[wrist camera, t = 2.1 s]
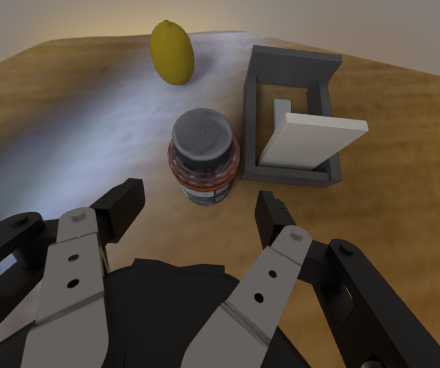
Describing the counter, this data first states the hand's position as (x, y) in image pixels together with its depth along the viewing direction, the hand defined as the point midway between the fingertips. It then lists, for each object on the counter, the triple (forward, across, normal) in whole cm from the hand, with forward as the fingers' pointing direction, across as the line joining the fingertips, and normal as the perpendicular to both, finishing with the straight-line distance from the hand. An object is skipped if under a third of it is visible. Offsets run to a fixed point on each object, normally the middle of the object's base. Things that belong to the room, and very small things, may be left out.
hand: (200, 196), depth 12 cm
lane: (+16, -10, -3) cm, 19 cm away
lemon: (+21, +6, -7) cm, 23 cm away
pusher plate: (+15, -10, -2) cm, 18 cm away
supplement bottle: (+9, 0, +4) cm, 10 cm away
